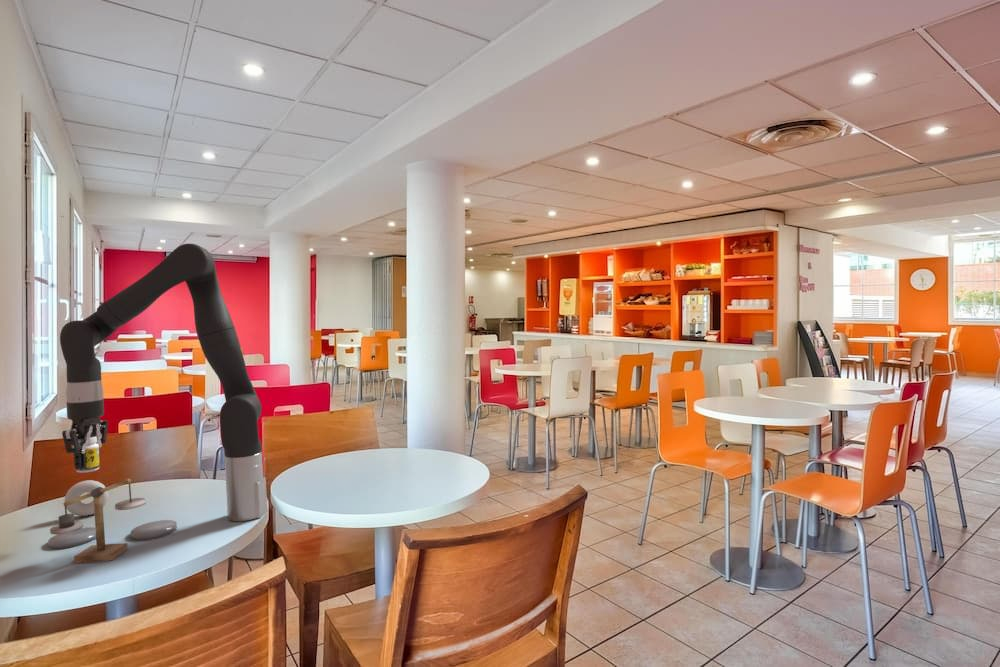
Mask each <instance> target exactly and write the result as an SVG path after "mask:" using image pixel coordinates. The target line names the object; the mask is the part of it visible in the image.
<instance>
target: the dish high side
mask: <svg viewBox="0 0 1000 667" xmlns="http://www.w3.org/2000/svg"><path fill="white" fill-rule="evenodd" d="M177 526H178V522H177V521H176V520H172V519H163V520H155V521H150V522H145V523H143V524H141V525H137V526H136V527H134V528H133V529H132V530H131V531H130V538H131V539H132V540H134V541H148V540H149V541H150V540H154V539H155V540H156V539H159V538H162V536H163V537H165V536H168V535H170V534H172V533H174V532H175V531H176V530H177V529H178V527H177ZM176 528H177V529H176ZM173 531H174V532H173ZM171 532H172V533H171ZM167 534H168V535H167ZM158 537H159V538H158Z"/></svg>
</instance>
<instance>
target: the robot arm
mask: <svg viewBox="0 0 1000 667" xmlns="http://www.w3.org/2000/svg"><path fill="white" fill-rule="evenodd" d="M217 274H218V273H217V269H216V263H215V260H214V256H213V255H212V254H211V253H210V252H209V251H208V250H207V249H206V248H205V247H202V246H200V245H198V244H195V243H183V244H181V245H179V246H177V247H176V248H174V250H172V251H171V252H170V253H169V254H168V255H167V256H166V257H165V258H164V259H162V260H161V262H160V263H158V264H157V265H156V266H155V267H154V268H152V269H151V270H150V271H149V272H148V273H146V274H145V275H143V276H142V277H141V278H139V279H138V280H136V281H135V282H133V283H131V284H130V285H129V286H127V287H126V288H124V289H122V290H120V291H119V292H118V293H116V294H114V295H113V296H112V297H110V298H109V299H107V300H105V301H104V302H102V303H101V304H100V305H98V307H97V308H96V310H95V312H93V313H92V314H89V315H88V317H86V318H84V319H83V320H71V321H68V322H66V324H64V325H63V327H61V331H60V334H59V343H60V348H61V351H62V352H61V353H62V355H63V358H64V359H63V360H64V361H65V364H66V365H65V366H66V368H65V369H66V389H65V395H66V396H65V397H66V401H65V402H66V403H65V404H66V417H67V419H68V420H71V428H69V429H68V430H63V431H62V432H61V433H62V439H63V443H64V447H65V450H66V451H65V452H66V453H67V454H72V455H73V459H74V463H73V464H74V467H75V470H76V469H83V468H85V467H86V453H85V450H86V445H87V444H88V443H89V440H90V438H91V437H95V436H96V437H97V442H96V444H98V445H99V463H100V462H101V447H102V446H103V444H106V443H107V437H108V426H109V421H108V420H101V417H103V416H104V415H105V405H104V404H105V403H104V400H105V399H104V387H103V382H102V381H103V380H102V364H101V361H100V360H99V358H97V356H96V354H95V353H96V352H95V346H98V345H99V344H100V343H101V344H102V342H103V341H105V340H106V339H108V338H109V337H110V336H111V335H112V334H114V333H115V332H116V331H117V330H118V329H119V328H120V327H122V326H124V325H126V324H127V323H128V322H130V321H133V319H134V318H136V317H138V316H139V315H141V314H142V313H143V312H145V311H146V310H147V309H148V308H149V307H151V306H152V305H153V304H154V303H155V302H156V301H157V300H158V299H159V298H160V297H161V296H162V295H164V294H165V293H166V292H168V291H169V290H171V289H173V288H174V287H176V286H178V285H180V284H183V282H185V284H186V286H187V288H188V289H187V290H188V291H189V293H190V297H191V299H192V303H193V316H194V325H195V331H196V335H197V338H198V342H199V344H200V348H201V351H202V353H203V355H204V357H205V359H206V360H207V362H208V364H209V365H210V367H211V369H212V371H214V373H215V374H216V376H217V378H218V380H219V383H221V384H220V385H221V387H222V390H223V395H224V399H225V402H224V403H223V404H222V406H221V408H220V412H219V426H220V427H219V429H220V438H221V440H220V441H221V445H222V448H223V451H224V452H223V453H224V466H225V468H224V469H225V471H224V472H225V473H224V474H225V485H226V486H225V489H226V491H225V492H226V506H227V510H226V512H227V520H229V521H232V522H244V521H251V520H254V519H260V518H262V516H264V514H265V513H266V512H268V501H267V500H268V499H267V498H268V496H267V478H266V476H264V474H263V473H264V472H263V471H264V470H263V468H264V466H263V453H262V452H263V451H262V449H263V448H262V441H261V440H260V437H259V426H258V422H259V419H260V417H261V415H262V412H263V411H262V410H263V409H262V403H261V401H260V399H259V397H258V394H257V392H256V390H255V387H254V385H253V383H252V381H251V379H250V377H249V376H250V375H249V374H248V370H247V366H246V362H245V357H244V354H243V350H242V347H241V343H240V341H239V336H238V335H237V331H236V328H235V324H234V322H233V320H232V317H231V315H230V314H231V313H230V312H229V309H228V307H227V304H226V302H225V300H224V298H223V294H222V291H221V288H220V284H219V279H218V275H217ZM78 439H79V440H80V439H84V440H83V441H78ZM79 444H81V449H80V446H79Z"/></svg>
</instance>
